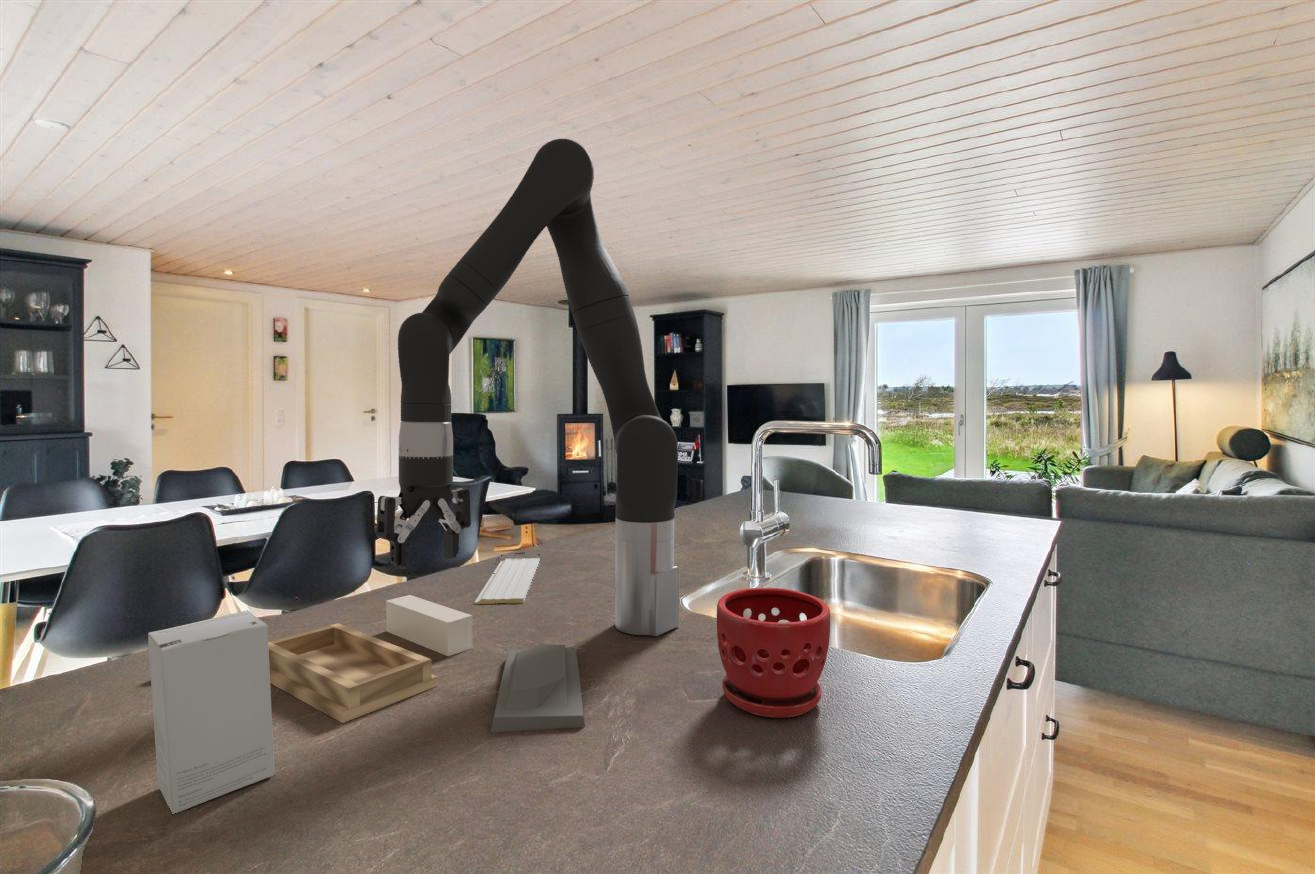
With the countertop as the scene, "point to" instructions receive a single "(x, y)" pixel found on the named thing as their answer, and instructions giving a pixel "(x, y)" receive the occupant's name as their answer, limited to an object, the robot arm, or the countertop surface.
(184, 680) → the skincare box
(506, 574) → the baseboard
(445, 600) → the countertop surface
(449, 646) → the white rectangular block
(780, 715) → the plant pot
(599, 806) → the countertop surface
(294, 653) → the tray
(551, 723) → the soap mold
